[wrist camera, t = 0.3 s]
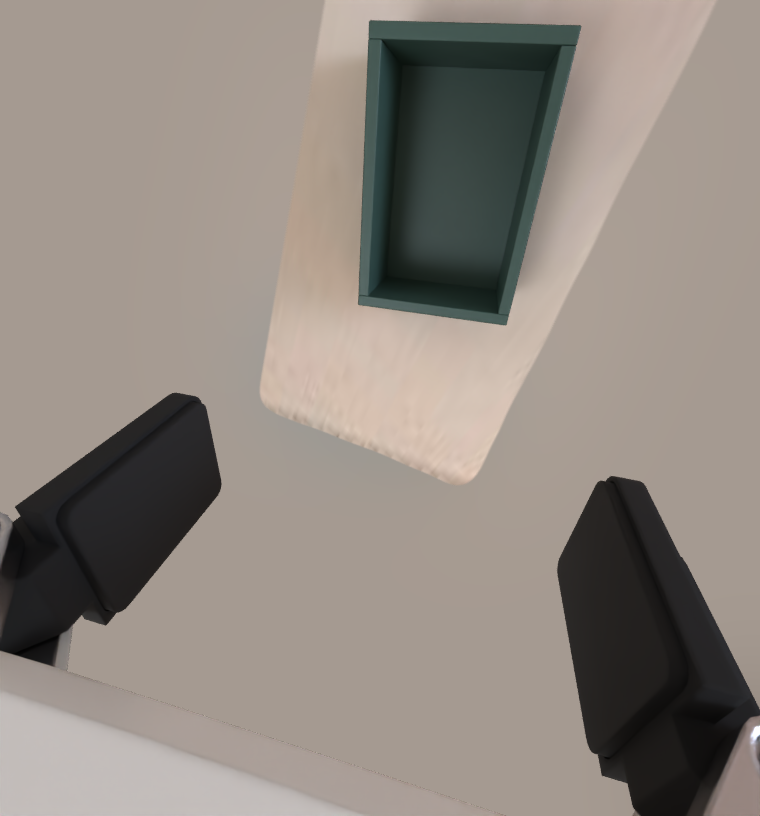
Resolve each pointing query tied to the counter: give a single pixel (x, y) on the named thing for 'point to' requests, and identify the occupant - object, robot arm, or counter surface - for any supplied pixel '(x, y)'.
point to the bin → (456, 160)
